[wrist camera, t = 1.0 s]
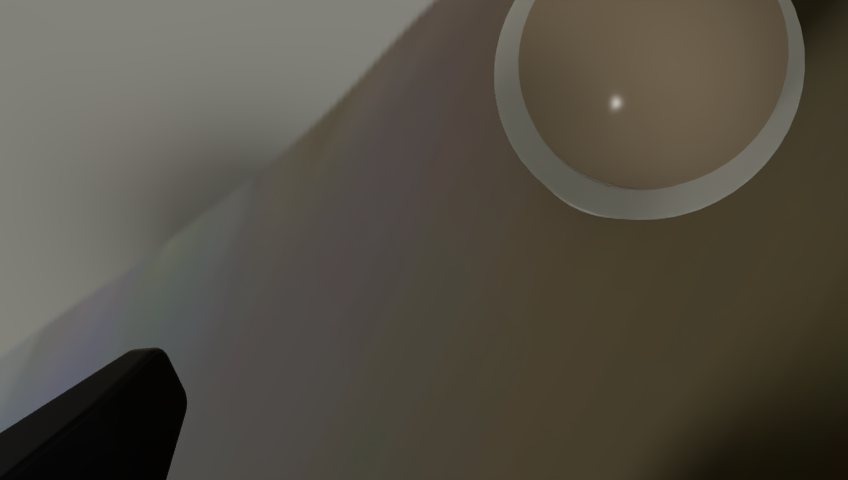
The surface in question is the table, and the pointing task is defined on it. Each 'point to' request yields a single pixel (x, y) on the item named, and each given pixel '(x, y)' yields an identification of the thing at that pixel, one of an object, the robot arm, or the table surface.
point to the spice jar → (647, 98)
